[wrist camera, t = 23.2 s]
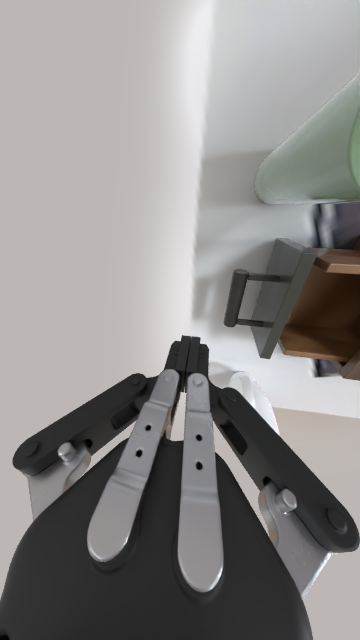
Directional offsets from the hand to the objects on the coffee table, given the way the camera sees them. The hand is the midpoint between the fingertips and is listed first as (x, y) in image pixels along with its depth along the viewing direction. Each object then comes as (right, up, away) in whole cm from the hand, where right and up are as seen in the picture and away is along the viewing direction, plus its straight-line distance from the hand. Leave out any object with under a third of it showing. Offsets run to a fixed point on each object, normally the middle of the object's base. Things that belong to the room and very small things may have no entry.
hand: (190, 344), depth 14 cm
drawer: (+15, +6, +9) cm, 18 cm away
